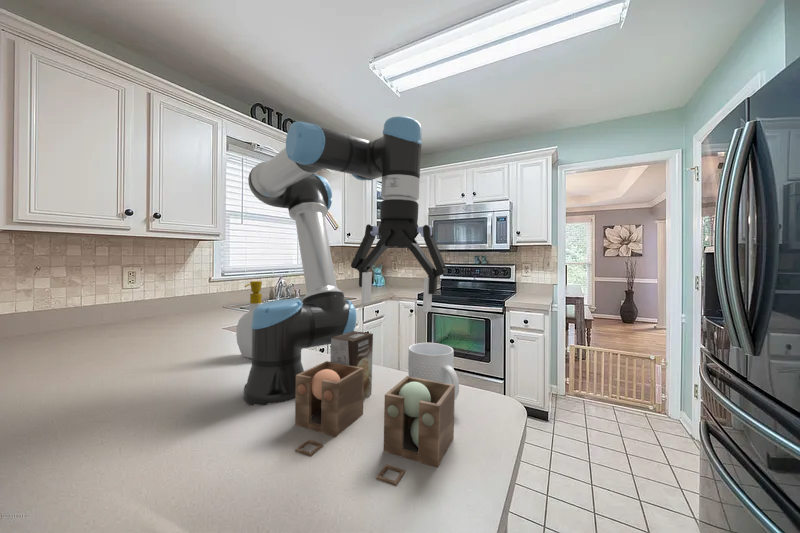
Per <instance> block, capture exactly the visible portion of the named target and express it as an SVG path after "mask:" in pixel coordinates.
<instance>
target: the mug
mask: <svg viewBox="0 0 800 533" xmlns="http://www.w3.org/2000/svg"><path fill="white" fill-rule="evenodd" d="M454 352H455V351H454V348H453V347H451V346H449V345H447V344H443V343H437V342H419V343H414V344H410V345H409V347H408V357H407V358H408V362H407V363H408V365H407V366H408V367H407V370H408V376H409V377H415V378H420V379H425V380H431V381H436V382H442V383H447V384H453V385H455V401H456V400H457V398H458V396H459V393H460V381H459V378H458V375H457V372H456V370H455V369H454V366H455V365H454V363H455V361H454V360H455V359H454V355H455V353H454Z"/></svg>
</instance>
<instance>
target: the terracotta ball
mask: <svg viewBox="0 0 800 533" xmlns="http://www.w3.org/2000/svg"><path fill="white" fill-rule="evenodd" d="M322 380H328V381H333V382H337V381H339V380H340V377H339V375H338V374H337V373H336V372H335V371H333V370H330V369H324V370H321V371H319V372H317V373H316V374H315V375H314V377H313V379H312V393H313V395H314V396H315V397H316V398H317V399H319V400H322Z"/></svg>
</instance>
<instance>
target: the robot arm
mask: <svg viewBox="0 0 800 533" xmlns="http://www.w3.org/2000/svg"><path fill="white" fill-rule="evenodd" d="M422 145H423V141H422V126H421V123H420V122H419V121H418V120H417V119H415V118H412V117H409V116H402V115H400V116H392V117H390V118H387V119H386V120H385V122H384V124H383V130H382V136H381V137H379V138H377V139H374V140H368V139H364V138H360V137H357V136H354V135H352V134H348V133H345V132H340V131H337V130H333V129H330V128H327V127H324V126H320V125H318V124H316V123H314V122H313V123H312V122H311V123H309V122H305V121H298V120H297V121H294V122H292V123H291V125H289V130H288V131H287V133H286V138H285V147H284V148H283V149H282V150H280V151H279V152H278V153H277V154H276V155H274V156H273V157H272V158H270V159H269V160H268V161H261V162H259V163H257V164H256V165H255V166H254V167H253V168H252V169H251V170H250V172H249V175H248V179H247V182H248V186H249V189H250V191H251V193H252V194H253V195H254V197H255V198H257V199H258V200H259V201H260V202H262V203H264V204H265V205H268V206H271V207H274V208H280V209H281V208H282V209H287V211H288V215H289V217H290V218H291V220H294V221H295V227H296V233H297V240H298V247H299V251H300V258H301V264H302V271H303V279H304V283H305V284H304V285H305V289H306V290H305V291H306V294H305V296H304V297H303V298H302V299H299V298H287V299H285V298H283V299H277V300H271V301H267V302H264V303H263V302H262V304H261V305H259V306H257V307H256V308H255V309H254V311H253V316H252V324H251V328H252V358H251V367H250V370H249V374H248V377H247V381H246V383H245V385H244V387H243V400H244V403H246V404H248V405H250V406H254V405H258V406H267V405H269V404H278V403H283V402H288V401H291V400H294V399H295V397H296V375H297V374H299V373H302V372H304V371H305V370H304V366H303V363H302V350H305V349H308V348H315V347H320V346H327V345H331V337H335V336H338V335H341V334H345V333H348V332H352V331H355V329H356V326H357V325H356V324H357V310H356V308H355V304H353V302H352V301H350V300H347V299H346V298H345V293H344V292H343V290H341V289H339V288H338V286H337V279H336V276H335V275H336V274H335V269H334V264H333V259H332V254H331V253H332V252H331V248H330V243H329V238H328V231H327V227H326V222H325V220H326V219H325V217H326V216H327V214H328V211H329V210H330V208H331V206H332V202H333V200H332V198H333V191H332V186H331V185H330V182H329V181H328V180H327V178H325V177H324V176H322V175H317V174H316V173H318V172H320V171H321V170H330V171H335V172H341V173H345V174H349V175H351V176H353V177H354V178H355V179H356V180H359V181H373V180H375V179H378V178H381V188H380V189H381V192H380V197H381V198H382V201H380V214H379V215H380V216H379V218H380V224H379V226H377V225H375V224H369V223H368V224H366V226H365V231H364V236H363V238H362V240H361V242H360V245H359V247H358V248H357V251H356V253H355V255H354V257H353V260H352V262H351V264H350V267H351V268H352V269H355V270H357V271H358V273H359V274H358V287H359V288H361V304H362V305H367V304H370V303H372V281H373V280H372V279H373V272H372V271H371V268H372V267H373V265H374V264H375V263H376V262H377V261H378V259H379V258H380V257H381V256H382V255H383V253H384V252H385V251H386V250H387V249H388V248H399V249H400V248H402V249H409V251H410V252H411V253H412V255H413V256H414V258H415V259H416V260H417V262H418V263H419V264H420V266H421V268H422V269H423V270H424V271H425V273H426V275H427V276H425V277H424V278H423V301H422V312H424V313H428V312H429V311H432V304H433V302H432V301H433V300H432V298H433V295H435V294H437V289H438V279H439V276H443V275H446V274H447V273H448V268H447V266H446V263H445V262H444V259H443V258H444V257H442V254H441V252H440V249H439V247H438V245H437V242H436V240H435V237H434V236H435V235H434V227H433V226H432V225H429V224H425V225H423V226H419V225H418V224H419V223H418V220H419V205H420V204H419V203H418V202H417V201H418V200H419V199H420V178H421V176H420V175H421V160H422V158H421V157H422ZM419 234H420V236H421V237H422V238H423V239H424V243H425V246H426V247H427V250H428V253H429V255H430V258H431V260H432V262H433V263H432V262H431V260H430V259H429V258H428V256H427V255H426V253H425V252H424V251H423V249H422V248H421V247H420V244H419V243H418V241H417V240H416V238H417V236H418V235H419ZM378 235H380V239H379V240H378V241H377V242H376V245H375V246H374V247H373V249H372V250H371V251H370V249H371V248H372V246H373V243H374V241H375V239H376V237H377V236H378Z"/></svg>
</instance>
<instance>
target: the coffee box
mask: <svg viewBox="0 0 800 533" xmlns="http://www.w3.org/2000/svg"><path fill="white" fill-rule="evenodd" d="M373 342H374V334H373V333H371V332H365V331H355V330H354V331H352V332H348V333H345V334H341V335H338V336H335V337H331V344H330V362H334V363H339V364H344V365H350V366H355V367H361V368H364V394H363V401H365V400H366V399H368V398H369V397H371V396H372V390H373V389H372V385H373V382H372V381H373V351H374V350H373V346H374V343H373Z"/></svg>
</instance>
